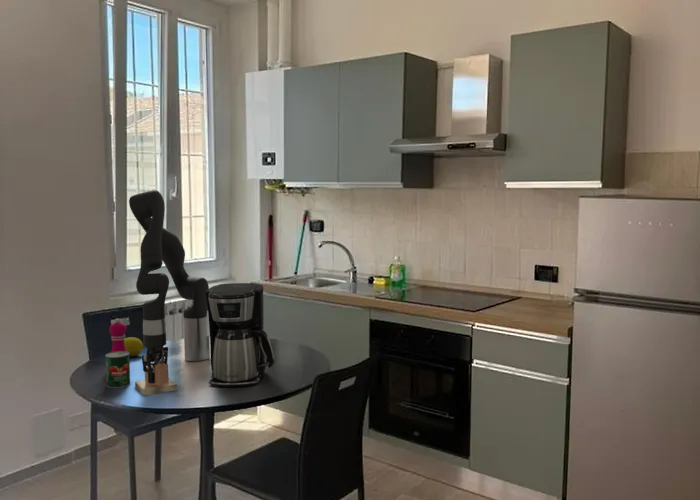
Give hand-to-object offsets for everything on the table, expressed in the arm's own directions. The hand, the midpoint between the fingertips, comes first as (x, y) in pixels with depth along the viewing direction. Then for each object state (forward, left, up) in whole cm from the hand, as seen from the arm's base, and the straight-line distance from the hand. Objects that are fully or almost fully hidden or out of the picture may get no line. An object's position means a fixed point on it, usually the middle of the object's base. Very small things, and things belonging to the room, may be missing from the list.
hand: (156, 380), depth 215 cm
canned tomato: (+10, -12, -3) cm, 16 cm away
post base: (0, 0, -3) cm, 3 cm away
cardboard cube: (0, 0, -1) cm, 1 cm away
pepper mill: (+5, -30, -3) cm, 31 cm away
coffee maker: (-32, +3, -3) cm, 32 cm away
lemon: (-4, -49, -3) cm, 49 cm away
